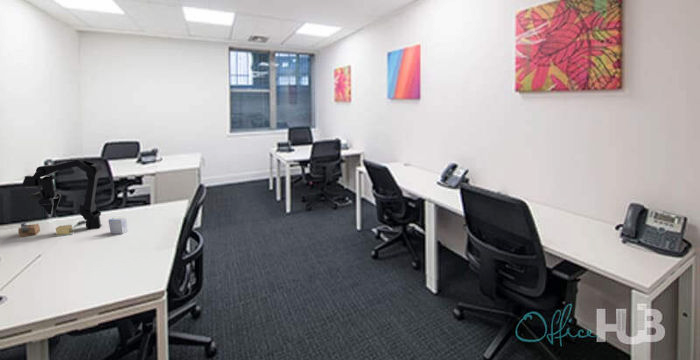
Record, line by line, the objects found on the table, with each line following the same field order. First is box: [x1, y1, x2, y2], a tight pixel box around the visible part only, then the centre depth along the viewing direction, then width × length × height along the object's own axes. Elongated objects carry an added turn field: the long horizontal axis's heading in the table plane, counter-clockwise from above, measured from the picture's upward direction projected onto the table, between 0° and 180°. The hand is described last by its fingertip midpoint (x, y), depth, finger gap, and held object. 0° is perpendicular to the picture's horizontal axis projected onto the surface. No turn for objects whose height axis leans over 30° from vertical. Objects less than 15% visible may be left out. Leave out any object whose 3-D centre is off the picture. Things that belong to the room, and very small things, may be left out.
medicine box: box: [108, 216, 129, 235], centre depth 198 cm, size 8×4×9 cm, turn 84°
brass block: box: [55, 224, 74, 235], centre depth 195 cm, size 6×4×4 cm
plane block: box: [17, 223, 41, 238], centre depth 195 cm, size 7×7×4 cm
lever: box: [20, 222, 29, 232], centre depth 189 cm, size 11×3×2 cm, turn 47°
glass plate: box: [54, 229, 76, 238], centre depth 196 cm, size 8×7×1 cm
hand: (52, 212), depth 200 cm, fingers open, 9 cm apart
